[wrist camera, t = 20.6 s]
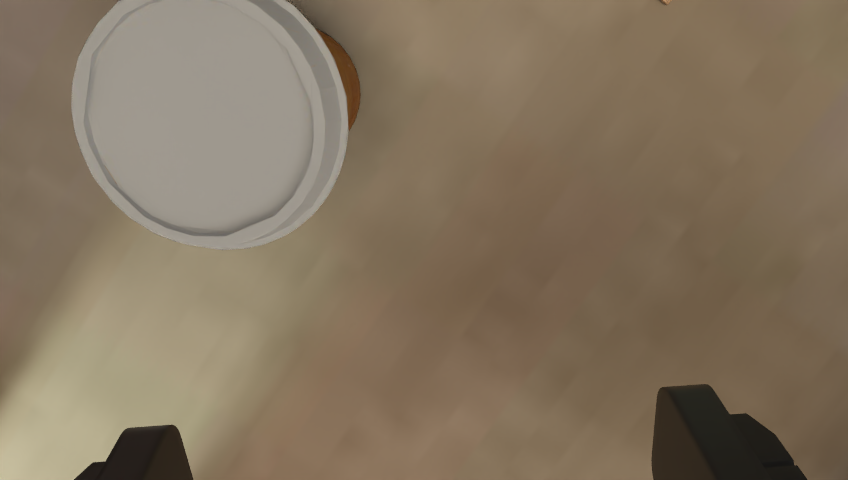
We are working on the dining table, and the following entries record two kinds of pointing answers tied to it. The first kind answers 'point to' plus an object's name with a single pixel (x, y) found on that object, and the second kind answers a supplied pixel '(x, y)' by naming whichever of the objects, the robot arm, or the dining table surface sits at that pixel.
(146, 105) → the disposable coffee cup
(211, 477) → the dining table surface
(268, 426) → the dining table surface
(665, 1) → the cork mat
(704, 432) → the robot arm
